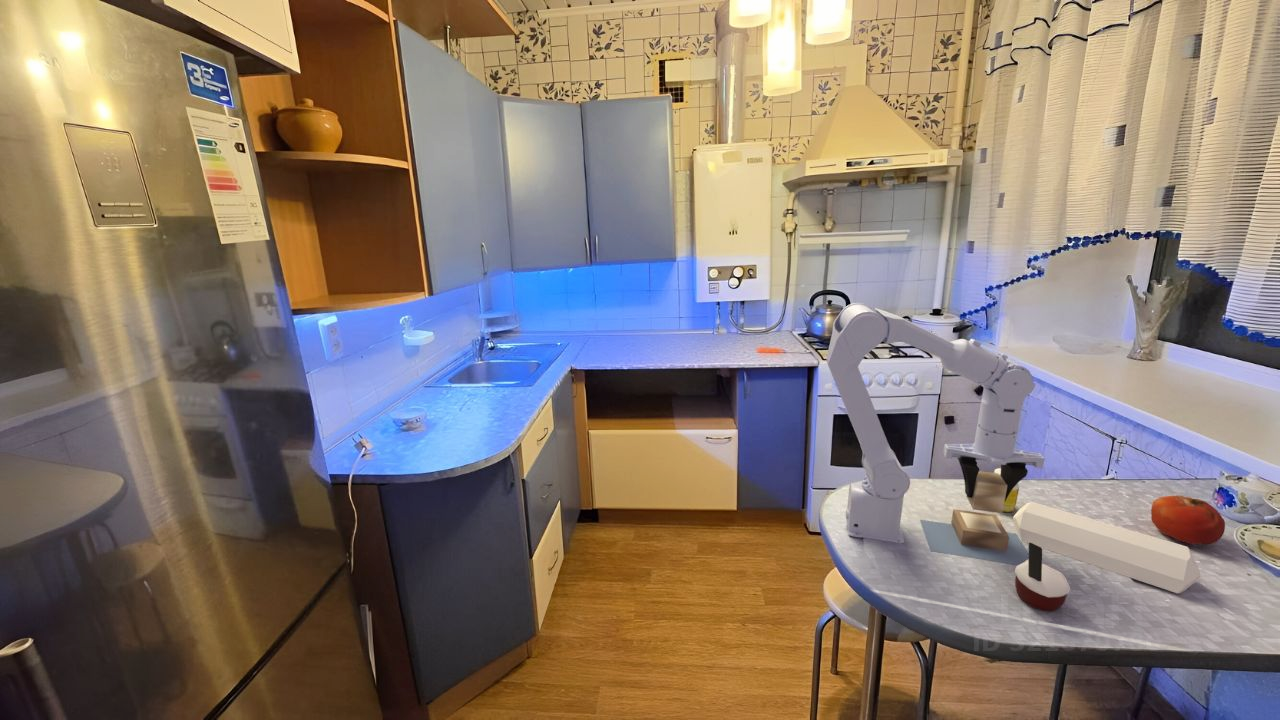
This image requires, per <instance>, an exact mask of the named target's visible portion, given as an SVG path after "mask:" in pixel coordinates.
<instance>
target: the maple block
mask: <svg viewBox="0 0 1280 720" xmlns="http://www.w3.org/2000/svg"><path fill="white" fill-rule="evenodd" d="M1006 491H1007V484H1006V483H1005V481H1004V480H1003V478H1002V477H1001V476H1000V474H999V473H994V472H990V471H981V470H979V472H978V475H977V478H976V481H975V487H974V494H973V497H972V498H969V497H967V495H966V499H967V501H968V502H969V503H968V504H970V506H971V508H972V510H973V511H974V510H975V511H981V512H989V513H996V514H1000V513H1002V511H1003V506H1004V501H1005V496H1006Z"/></svg>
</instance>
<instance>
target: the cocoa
mask: <svg viewBox="0 0 1280 720" xmlns="http://www.w3.org/2000/svg"><path fill="white" fill-rule="evenodd" d="M1028 553H1029V559H1028V560H1026V561H1025V562H1024V563H1022V564H1020V565H1015V569H1014V573H1015V580H1014V582H1015V583H1014V584H1015V589H1016V593H1017V595H1018V597H1019V598H1020V599H1021V601H1023V602H1024V603H1025V604H1027V605H1029V607H1032V608H1034V609H1037V610H1040V611H1042V612H1043V611H1044V612H1054V611H1057V610H1059V609H1060V608H1061V607H1062V606H1063V604H1064V603H1065V601H1066V598H1067V596H1068V593H1070V592H1071V587H1070V585H1069V583H1068V580H1067V578H1066V576H1065V575H1064V574H1063V573H1062V572H1060V571H1058V570H1057V569H1055V568H1052V567H1050V566H1049V565H1047V564H1045V563H1043V548H1041V547H1039V546H1037V545H1035V544H1033V543H1028Z"/></svg>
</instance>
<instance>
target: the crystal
mask: <svg viewBox="0 0 1280 720" xmlns="http://www.w3.org/2000/svg"><path fill="white" fill-rule="evenodd" d="M1012 519H1013V521H1012V522H1013V527H1014V530H1015V531H1016V532H1015V533H1016V534H1017V535H1018V537H1019V539H1020V540H1021V542H1022V543H1023V542H1024V543H1026V544H1029V543H1033V544H1035V545H1037V546H1039V547H1041V548H1042V549H1043V550H1047V551H1051V552H1053V553H1056V554H1059V555H1061V556H1065V557H1068V558H1071V559H1074V560H1076V561H1080V562H1084V563H1086V564H1088V565H1092V566H1095V567H1098V568H1100V569H1103V570H1106V571H1110V572H1113V573H1115V574H1119V575H1122V576H1125V577H1128V578H1130V579H1133V580H1136V581H1139V582H1143V583H1145V584H1148V585H1152V586H1154V587H1158V588H1160V589H1164V590H1166V591H1169V592H1173V593H1175V594H1181V593H1183V592H1185V591H1186V590H1187V589H1188V588H1189V587H1191V586H1192V585H1194V584H1195V583H1196V582H1197V581H1198V580H1199V579H1200V578H1201V577H1202V576H1201V572H1200V570H1199V569H1200V568H1199V567H1198V564H1197V563H1196V560H1195V558H1194V555H1193V553H1192V551H1191V549H1190V548H1189V547H1188V546H1185V545H1183V544H1179V543H1175V542H1172V541H1168V540H1165V539H1163V538H1158V537H1155V536H1152V535H1148V534H1146V533H1145V534H1144V533H1141V532H1138V531H1135V530H1130V529H1128V528H1125V527H1121V526H1117V525H1113V524H1110V523H1106V522H1102V521H1099V520H1098V519H1097V520H1095V519H1092V518H1089V517H1086V516H1082V515H1079V514H1076V513H1072V512H1069V511H1064V510H1061V509H1058V508H1055V507H1052V506H1049V505H1044V504H1041V503H1038V502H1035V501H1030V502H1027V503H1025V504H1024V505H1023V506H1022V507H1021V508H1019V509H1018V510H1017V511H1016V513H1015V514H1014V516H1012Z"/></svg>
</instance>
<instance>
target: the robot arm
mask: <svg viewBox="0 0 1280 720" xmlns="http://www.w3.org/2000/svg"><path fill="white" fill-rule="evenodd" d="M874 310H875V311H876V312H875V311H874ZM874 310H873V309H872V307H870V306H869V305H867V304H866V303H861V302H854V303H850V304H848V305H847V306H845V307H844V308H842V310H841V311H840V313H839V314H838V316H837V317H836V318H835V319H834V321H833V323H832V332H831V333H832V334H831V337H830V342H829V346H828V348H827V349H828V350H827V354H826V364H827V366H828V368H829V371H830V373H831V376H832V378H833V381H834V383H835V385H836V386H835V387H836V388H837V390H838V394H839V395H840V399H841V401H842V403H843V405H844V408H845V410H846V413H847V416H848V418H849V421H850V423H851V426H852V427H853V430H854V432H855V433H854V434H855V435H856V438H857V440H858V442H859V444H860V445H859V447H860V448H861V451H862V457H861V465H862V467H863V469H864V470H865V472H866V474H865V476H864V477H863V479H862V481H861V482H855V483H854V482H853V483H851V482H850V483H849V486H848V487H849V488H848V496H847V508H846V509H845V510H846V512H845V519H846V522H847V525H846V526H847V534H848V535H849V536H850V537H854V538H860V539H861V538H862V539H864V538H868V539H873V540H874V539H875V540H880V541H885V542H892V543H897V544H899V543H900V544H905V540H904V535H903V532H902V528H901V522H902V521H901V520H902V512H903V504H904V497H905V494H906V493H908V491H909V489H910V486H911V479H910V476H909V474H908V473H907V472H906V471H905V470H904V468H903V466H902V464H901V463H900V462H899V460H898V458H897V456H896V455H897V454H896V453H895V452H894V450H893V449H892V448H891V447H890V444H889V442H888V440H887V437H886V435H885V432H884V430H883V427H882V424H881V422H880V419H879V416H878V414H877V412H876V409H875V406H874V403H873V401H872V399H871V396H870V394H869V391H868V389H867V386H866V384H865V381H864V378H863V376H862V374H861V371H860V368H859V365H860V364H861V362H862V361H863V359H864V358H865V357H866V355H868V354H869V353H870V352H871V351H873V350H874V349H875V348H876V347H878V346H879V345H880V344H881V343H882V342H883V343H884V344H886V345H890V344H893V343H898V342H903V343H905V344H907V345H910V346H912V347H914V348H917V349H919V350H921V351H923V352H926V353H929V354H931V355H934V356H936V357H938V358H940V360H941V365H942V367H943V368H944V369H945V370H948V371H949V372H952V373H954V374H956V375H958V376H960V377H963V378H965V379H967V380H968V381H972V382H973V383H975V384H977V385H980V386H981V385H982V386H983V391H982V396H981V401H980V408H979V413H978V420H977V425H976V431H975V437H974V442H973V443H953V444H952V443H951V444H950V443H945V444H944V446H943V455H944V458H945V459H953V458H956V459H957V460H958V462H959V466H960V468H961V471H962V475H963V480H964V481H963V482H964V493H965V495H966V496H967V497H969V498H972V497H973V494H974V487H975V481H976V478H977V475H978V472H979V471H981V470H980V469H981V468H980V467H979V466H978V462H977V461H988V462H991V463H992V464H993V465H994V464H995V465H1000V468H1001V474H1000V476H1001V477H1002V478H1003V480H1004V481H1005V483H1006V484H1007V491H1006V496H1005V501H1006V499H1007V497H1008V495H1009V494H1010V492H1011V491H1012V489H1013V488H1014V487H1015V486H1016V484H1017V483H1018V484H1019V483H1020V482H1021V481H1023V479H1024V478H1025V477H1027V476H1028V472H1029V471H1028V468H1027V466H1034V468H1037V469H1043V468H1044V464H1045V463H1044V462H1045V459H1046V458H1045V457H1044V456H1043V455H1042V454H1041V453H1040V452H1033V451H1027V450H1024V449H1023V450H1022V449H1018V448H1017V449H1016V448H1015V446H1016V441H1017V436H1018V431H1019V425H1020V420H1021V416H1022V410H1023V407H1024V402H1025V399H1026V398H1027V396H1029V395H1030V394H1032V392H1034V389H1035V388H1036V383H1035V382H1034V378H1033V377H1034V376H1033V374H1032V373H1031V371H1030V369H1028V368H1027V367H1024V366H1022V365H1021V364H1020V363H1017V362H1016V361H1014V360H1012V359H1010V358H1009V357H1008V355H1007V354H1004V353H1002V352H998V353H995V352H994V351H991V350H989V349H987V348H984V347H983V346H981V345H982V343H981V342H980V341H978V340H976V339H974V338H970V339H968V340H967V339H965V338H958V339H954V340H951V341H950V340H948V339H946V338H944V337H941V336H940V335H938V334H935V333H934V332H932V331H930V330H928V329H926V328H924V327H922V326H920V325H917V324H916V323H914V322H913V321H909V320H907V319H906V318H903V317H902V316H900V315H897V314H894V313H891V312H889V311H885V310H883V309H879V308H876V307H875V308H874ZM967 497H966V498H967ZM1005 501H1004V502H1005Z"/></svg>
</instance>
